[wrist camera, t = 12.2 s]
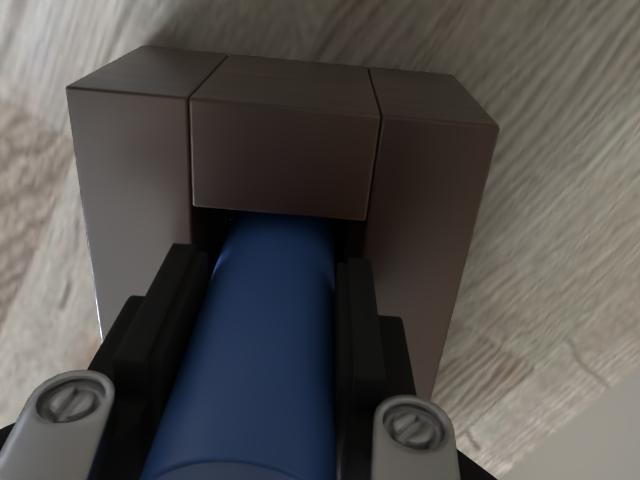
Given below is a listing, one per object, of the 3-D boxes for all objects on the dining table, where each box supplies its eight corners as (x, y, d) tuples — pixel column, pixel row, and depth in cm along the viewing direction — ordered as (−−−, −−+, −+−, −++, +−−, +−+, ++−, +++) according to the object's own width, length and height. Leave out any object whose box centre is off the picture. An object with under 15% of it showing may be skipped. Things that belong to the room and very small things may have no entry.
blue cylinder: (337, 165, 17) (348, 467, 7) (329, 248, 18) (327, 593, 8) (241, 157, 17) (119, 450, 7) (240, 241, 18) (137, 581, 8)
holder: (453, 74, 15) (501, 126, 11) (378, 443, 23) (389, 560, 19) (141, 45, 15) (64, 86, 11) (168, 427, 23) (129, 542, 18)
